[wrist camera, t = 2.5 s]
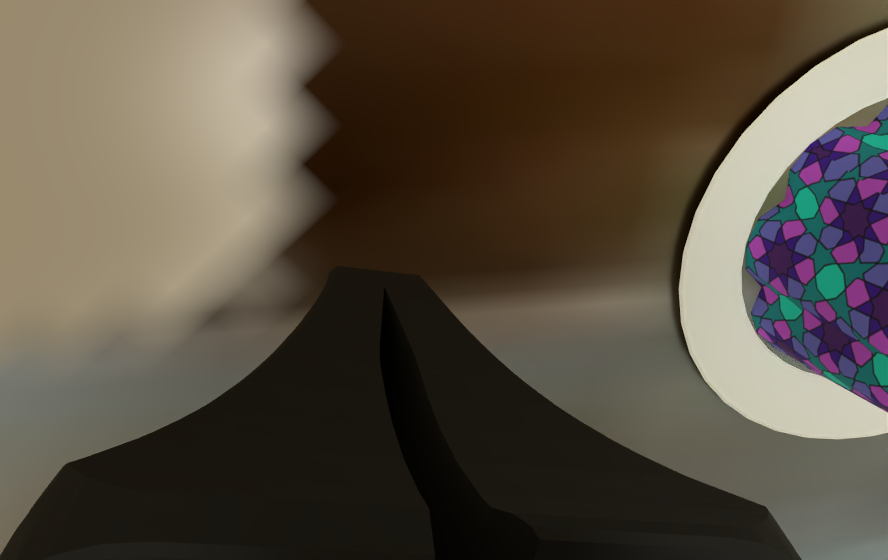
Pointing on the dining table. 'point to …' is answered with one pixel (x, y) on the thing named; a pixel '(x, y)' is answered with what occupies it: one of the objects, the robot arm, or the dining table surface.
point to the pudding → (800, 258)
